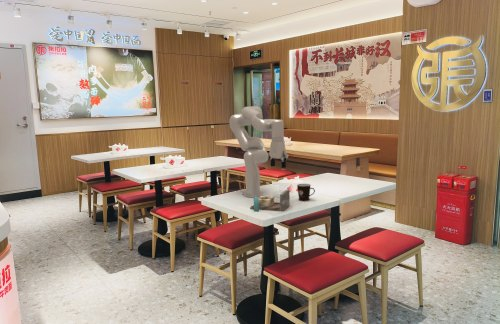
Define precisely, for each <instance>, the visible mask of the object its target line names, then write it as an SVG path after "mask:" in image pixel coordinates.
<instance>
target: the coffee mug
mask: <svg viewBox="0 0 500 324" xmlns="http://www.w3.org/2000/svg"><path fill="white" fill-rule="evenodd" d="M296 187H297V194H298V200H299V201H300V202H308V201H309V200H310V197H311V196H312V195H314V194H315V192H316V190H315V187H311V184H310V183H298V184H297V185H296ZM311 190H313V193H311ZM310 193H311V194H310Z"/></svg>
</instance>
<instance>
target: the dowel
mask: <svg viewBox="0 0 500 324" xmlns="http://www.w3.org/2000/svg"><path fill="white" fill-rule="evenodd" d="M253 205H254V209H253V212H260V210H259V197H253Z"/></svg>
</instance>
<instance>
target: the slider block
mask: <svg viewBox="0 0 500 324" xmlns="http://www.w3.org/2000/svg"><path fill="white" fill-rule="evenodd" d="M274 202H275V196H265V195H262V196H260V197H259V206H265V207H271V206H272V205H273V204H274Z"/></svg>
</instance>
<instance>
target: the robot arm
mask: <svg viewBox="0 0 500 324" xmlns="http://www.w3.org/2000/svg"><path fill="white" fill-rule="evenodd" d="M263 117H264V116H263V111H262V108H261V107H260V106H257V105H255V106H253V105H252V106H244V107H243V108H242V109H241V112H240V113H235V114H233V115H231V116H230V118H229V121H228V123H229V127H230V130H231V131H232V133H233V134H234V135H235V138H236V140H237V142H238V144H239V146H240V148H241V150H242V151H244V152H245V153H244V154H243V161H244V166H245V167H244V168H245V186H246V187H245V189H244V188H242V189H240V190H241V193H244V197H246V198H254V197H260V196H263V192H261V178H260V176H261V174H260V173H261V172H260V168H259V166H258V165H257V164H263V163H266V162H268V160H270V167H275V166H276V159H277V160H278V159H280V160H281V163H280V164H281V169H285V168H287V160H288V158H289V154H288V153H287V152H286V144H285V135H284V134H285V131H284V130H285V129H284V126H285V125H284V124H285V123H284V120H283V119H277V118H276V119H275V118H270V119H269V118H268V119H263ZM243 126H252V128H253V129H255V130H257V131H259V132H261V133H262V132H271V141H270V145H269V146H270V147H269V152H268V151H267V148H266V146H265V145H264V142H263V141H262V139H261V138H260V137H258V136H250V135H249V134H248V131H247V130H246V129H245V128H244V127H243Z"/></svg>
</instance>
